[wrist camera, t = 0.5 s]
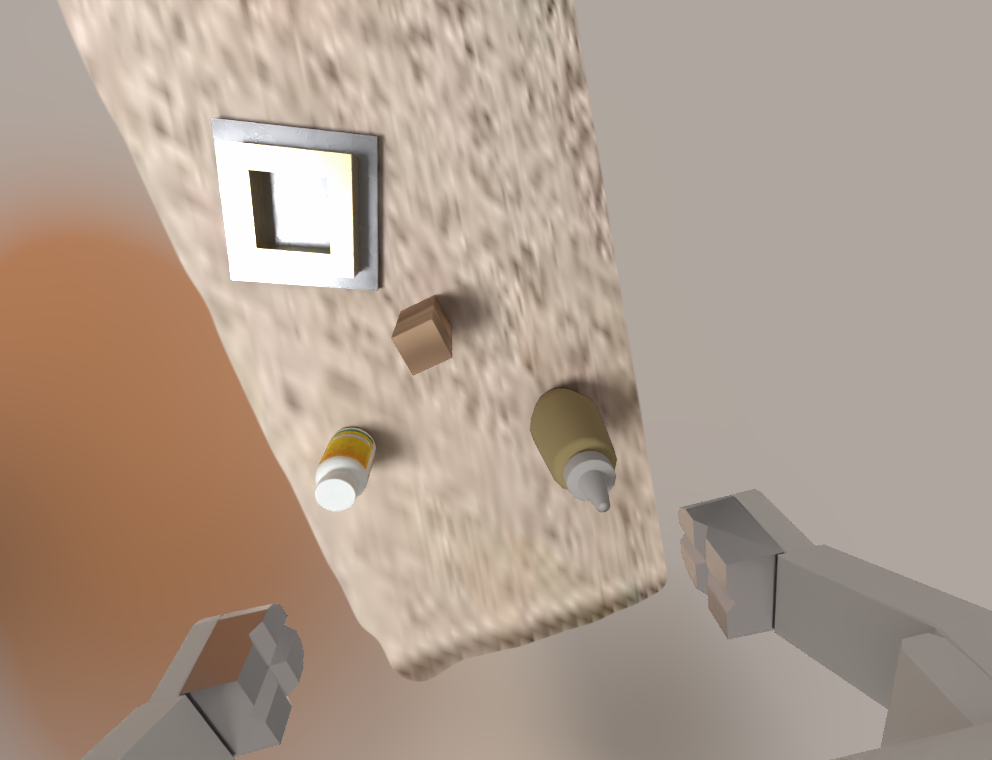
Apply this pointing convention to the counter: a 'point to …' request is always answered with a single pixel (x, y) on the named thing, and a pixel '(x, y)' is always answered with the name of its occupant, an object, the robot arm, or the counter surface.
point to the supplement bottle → (344, 469)
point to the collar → (299, 204)
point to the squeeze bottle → (575, 445)
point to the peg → (423, 335)
